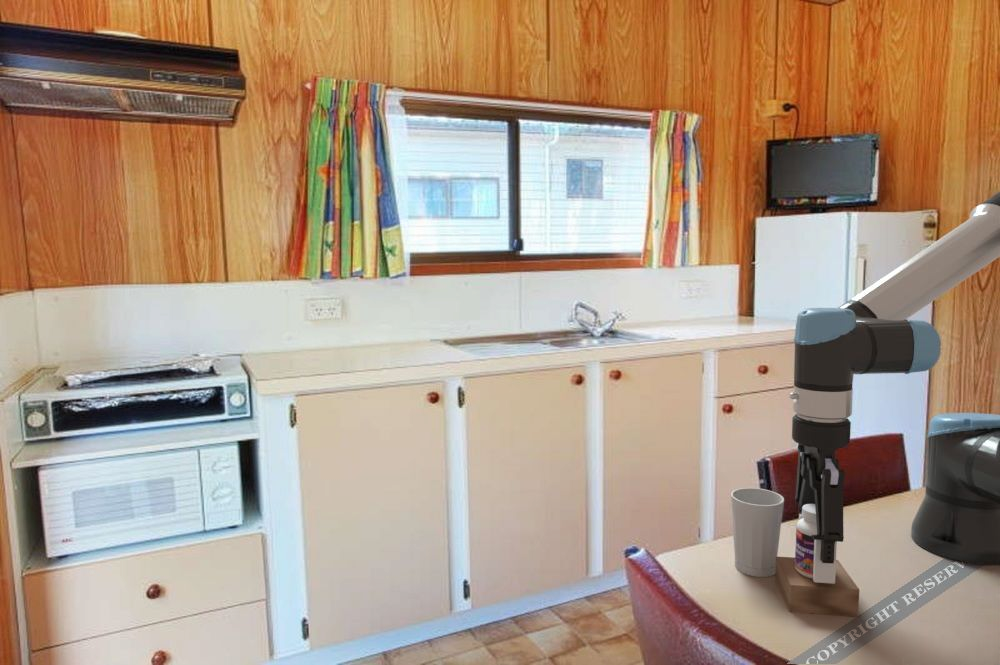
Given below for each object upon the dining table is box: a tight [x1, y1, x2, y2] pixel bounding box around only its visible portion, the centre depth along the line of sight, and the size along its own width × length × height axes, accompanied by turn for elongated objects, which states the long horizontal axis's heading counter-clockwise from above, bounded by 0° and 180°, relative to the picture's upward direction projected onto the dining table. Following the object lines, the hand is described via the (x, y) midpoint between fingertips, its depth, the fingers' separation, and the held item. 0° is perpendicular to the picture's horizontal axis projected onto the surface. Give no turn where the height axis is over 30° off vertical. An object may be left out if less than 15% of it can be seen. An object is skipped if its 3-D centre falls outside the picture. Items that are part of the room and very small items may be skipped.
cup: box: [730, 487, 785, 578], centre depth 106 cm, size 8×8×12 cm
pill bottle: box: [794, 504, 817, 579], centre depth 96 cm, size 5×5×10 cm
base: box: [774, 555, 860, 618], centre depth 97 cm, size 9×9×4 cm
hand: (815, 568), depth 96 cm, fingers open, 7 cm apart
